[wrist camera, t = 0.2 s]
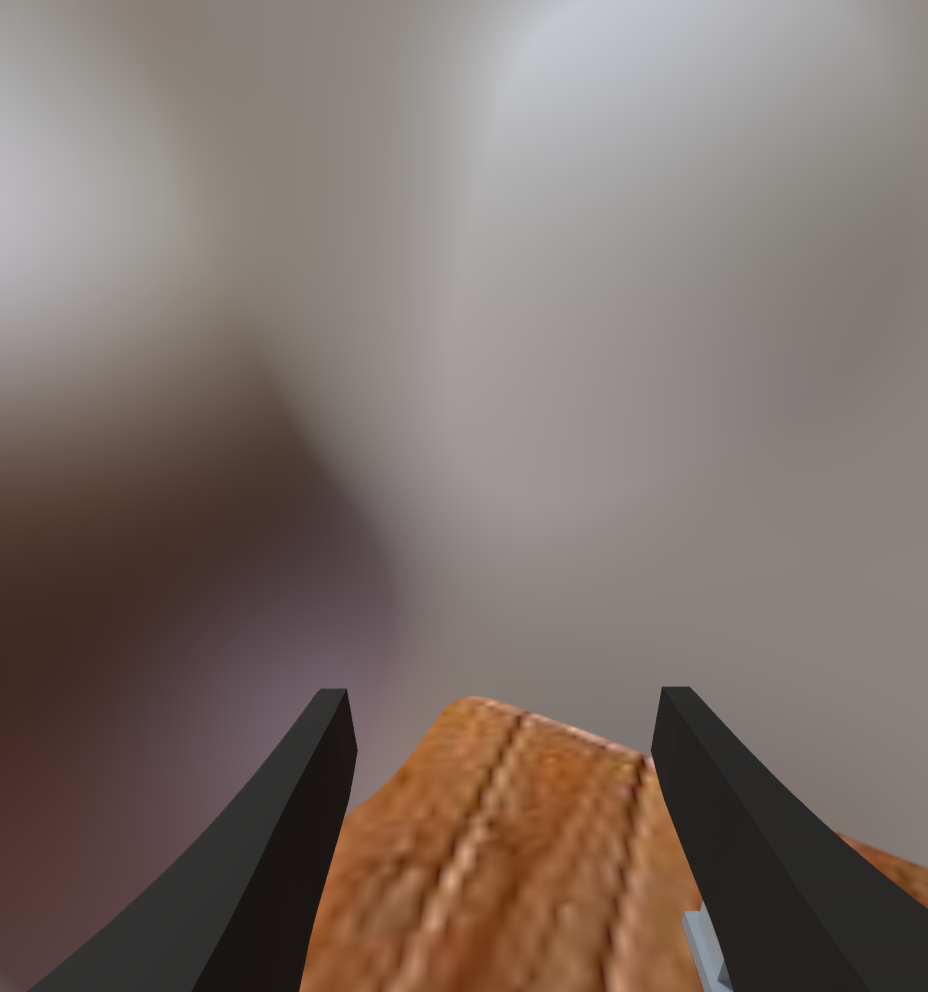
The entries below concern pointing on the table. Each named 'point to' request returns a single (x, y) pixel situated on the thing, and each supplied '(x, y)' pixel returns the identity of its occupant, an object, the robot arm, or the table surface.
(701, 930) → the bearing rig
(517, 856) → the table surface
